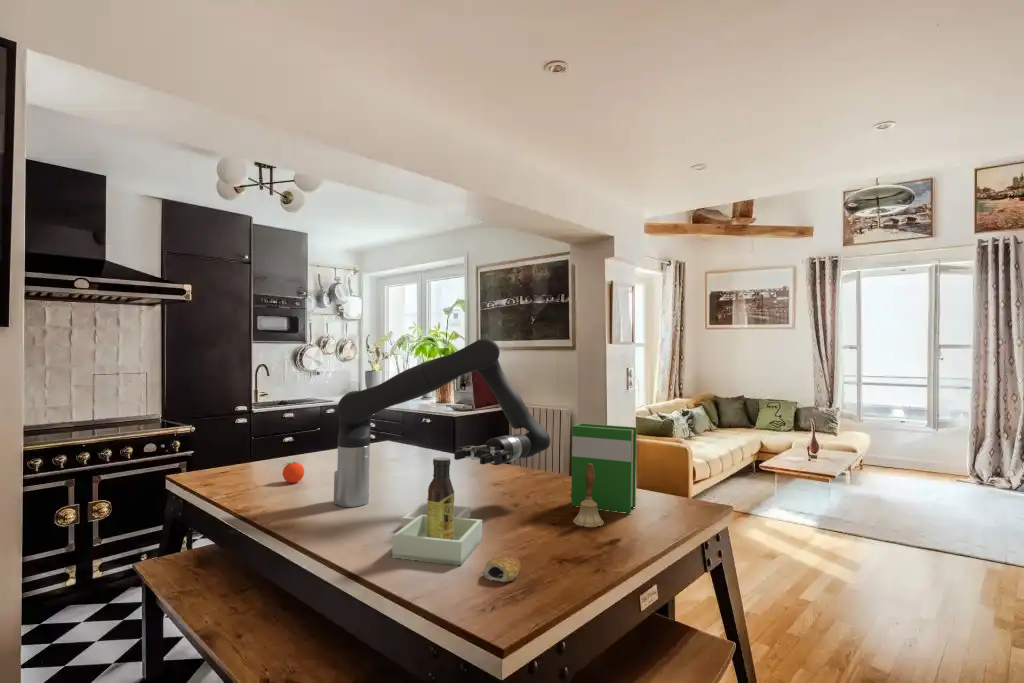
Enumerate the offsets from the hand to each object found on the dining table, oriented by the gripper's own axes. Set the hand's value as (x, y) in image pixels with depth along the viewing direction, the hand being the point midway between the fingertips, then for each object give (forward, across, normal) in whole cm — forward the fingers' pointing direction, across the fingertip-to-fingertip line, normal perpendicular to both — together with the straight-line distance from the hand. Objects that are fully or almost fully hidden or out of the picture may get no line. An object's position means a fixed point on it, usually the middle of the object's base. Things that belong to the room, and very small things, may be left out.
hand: (468, 458), depth 141 cm
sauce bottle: (+15, +4, +18) cm, 23 cm away
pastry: (+18, +24, +19) cm, 35 cm away
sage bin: (+15, +4, +18) cm, 24 cm away
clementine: (-2, -77, +19) cm, 79 cm away
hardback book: (-40, +21, +18) cm, 48 cm away
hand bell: (-24, +24, +18) cm, 38 cm away
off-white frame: (+1, -9, +18) cm, 20 cm away
